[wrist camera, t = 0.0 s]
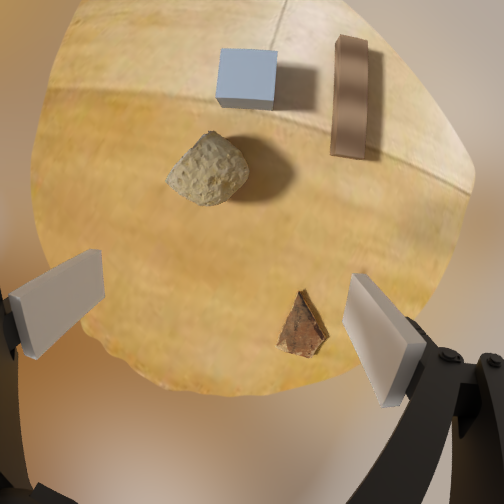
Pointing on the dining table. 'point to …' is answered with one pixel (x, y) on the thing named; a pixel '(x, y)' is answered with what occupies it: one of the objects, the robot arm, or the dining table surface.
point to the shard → (300, 330)
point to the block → (246, 79)
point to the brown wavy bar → (350, 98)
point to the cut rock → (209, 171)
